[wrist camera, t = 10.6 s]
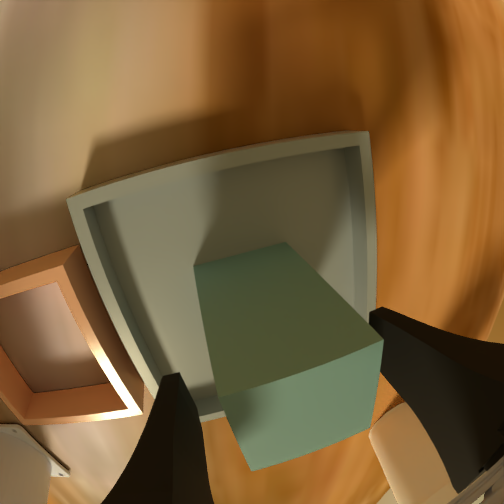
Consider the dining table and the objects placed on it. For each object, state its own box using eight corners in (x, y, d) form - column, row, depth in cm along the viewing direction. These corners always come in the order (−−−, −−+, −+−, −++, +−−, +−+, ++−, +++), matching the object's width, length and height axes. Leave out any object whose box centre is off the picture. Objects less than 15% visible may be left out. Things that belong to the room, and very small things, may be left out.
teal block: (215, 341, 16) (251, 471, 8) (193, 266, 14) (217, 397, 7) (295, 317, 16) (369, 427, 9) (285, 241, 15) (383, 339, 7)
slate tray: (171, 404, 17) (172, 428, 16) (80, 190, 12) (65, 199, 10) (356, 347, 19) (371, 365, 18) (346, 130, 14) (368, 131, 12)
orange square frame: (32, 399, 15) (23, 425, 13) (-37, 285, 11) (-58, 306, 9) (144, 383, 16) (143, 414, 14) (79, 244, 13) (62, 265, 10)
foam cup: (383, 395, 23) (463, 499, 11) (441, 382, 26) (511, 457, 14) (341, 455, 26) (393, 546, 14) (400, 438, 29) (452, 510, 17)
